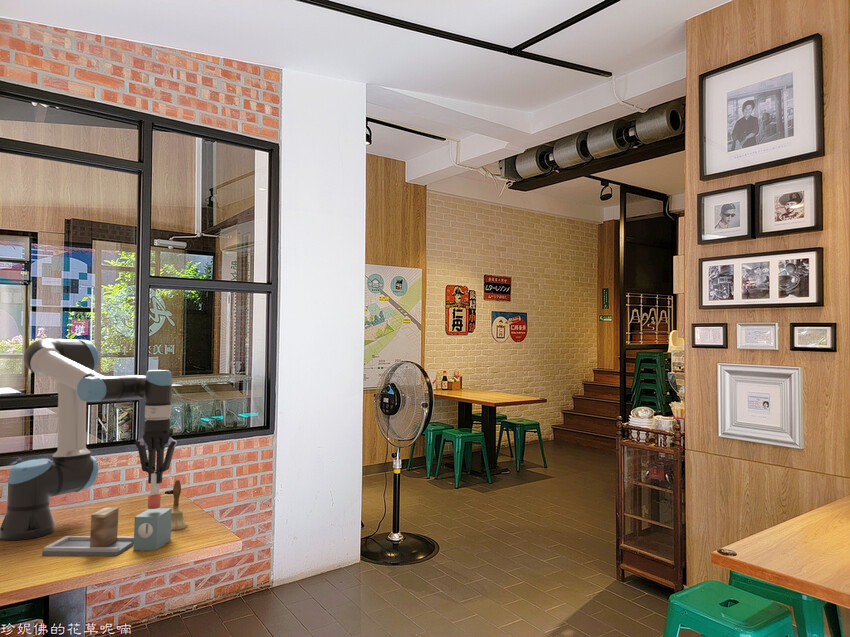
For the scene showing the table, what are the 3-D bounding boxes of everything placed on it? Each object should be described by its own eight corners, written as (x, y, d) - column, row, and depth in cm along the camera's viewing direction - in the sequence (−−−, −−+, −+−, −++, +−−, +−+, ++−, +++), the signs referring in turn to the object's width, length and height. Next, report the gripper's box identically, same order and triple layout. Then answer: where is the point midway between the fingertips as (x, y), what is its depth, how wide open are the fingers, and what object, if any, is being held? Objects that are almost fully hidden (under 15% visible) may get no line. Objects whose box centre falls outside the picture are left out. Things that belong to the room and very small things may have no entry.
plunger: (145, 508, 180) (146, 495, 181) (150, 505, 184) (151, 493, 184) (157, 509, 180) (157, 496, 181) (162, 506, 184) (162, 493, 184)
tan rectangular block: (89, 548, 173) (91, 514, 174) (104, 540, 182) (105, 507, 182) (103, 548, 173) (104, 514, 174) (117, 540, 182) (118, 507, 182)
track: (42, 555, 171) (42, 548, 171) (66, 541, 183) (67, 535, 183) (116, 555, 171) (116, 548, 172) (136, 542, 183) (136, 536, 184)
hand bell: (179, 522, 206) (180, 476, 207) (192, 526, 201) (194, 479, 202) (156, 527, 199) (158, 480, 200) (170, 532, 195) (172, 484, 196)
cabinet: (132, 550, 176) (133, 517, 176) (148, 539, 186) (150, 508, 187) (155, 551, 176) (156, 517, 176) (170, 539, 187) (171, 508, 187)
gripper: (131, 419, 180) (128, 496, 179) (172, 420, 180) (170, 496, 179) (142, 417, 188) (139, 490, 186) (182, 417, 188) (180, 491, 186)
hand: (154, 493), depth 182 cm, fingers closed
